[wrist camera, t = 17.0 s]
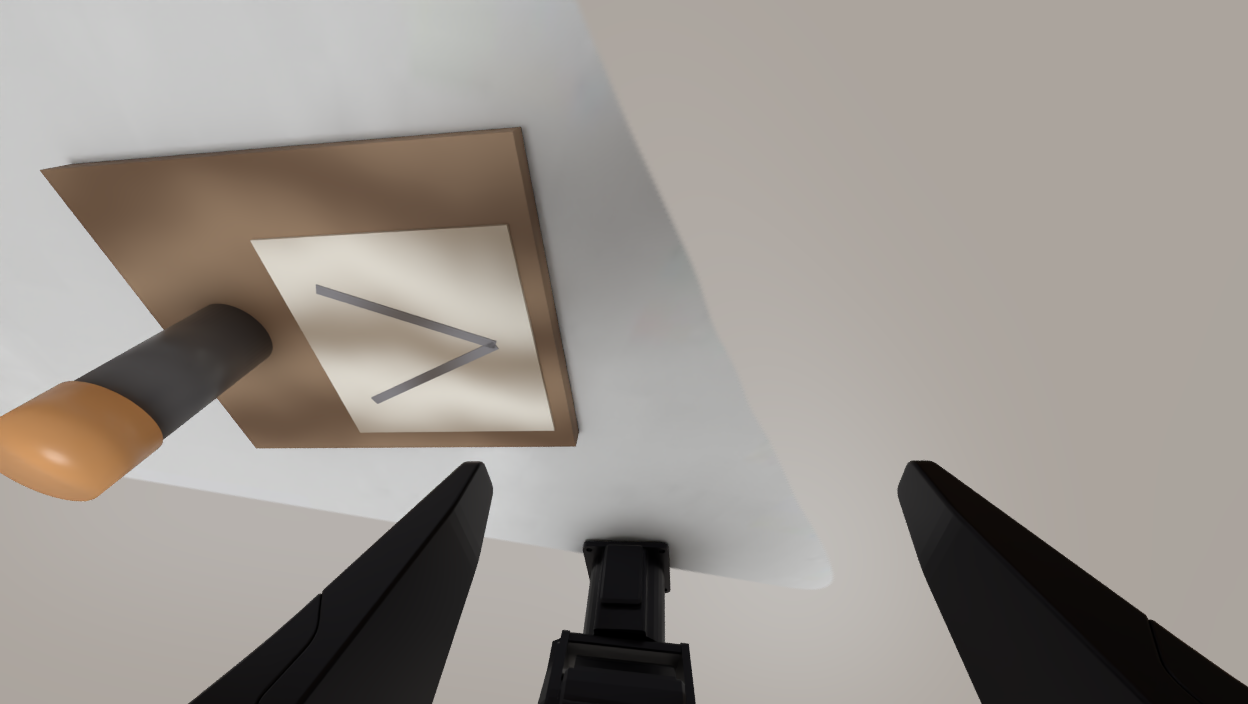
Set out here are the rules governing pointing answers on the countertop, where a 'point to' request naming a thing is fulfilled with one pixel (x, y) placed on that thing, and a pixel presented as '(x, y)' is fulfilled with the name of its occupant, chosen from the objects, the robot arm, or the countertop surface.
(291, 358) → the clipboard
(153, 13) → the countertop surface
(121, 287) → the countertop surface
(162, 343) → the black and orange cylinder
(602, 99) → the countertop surface
